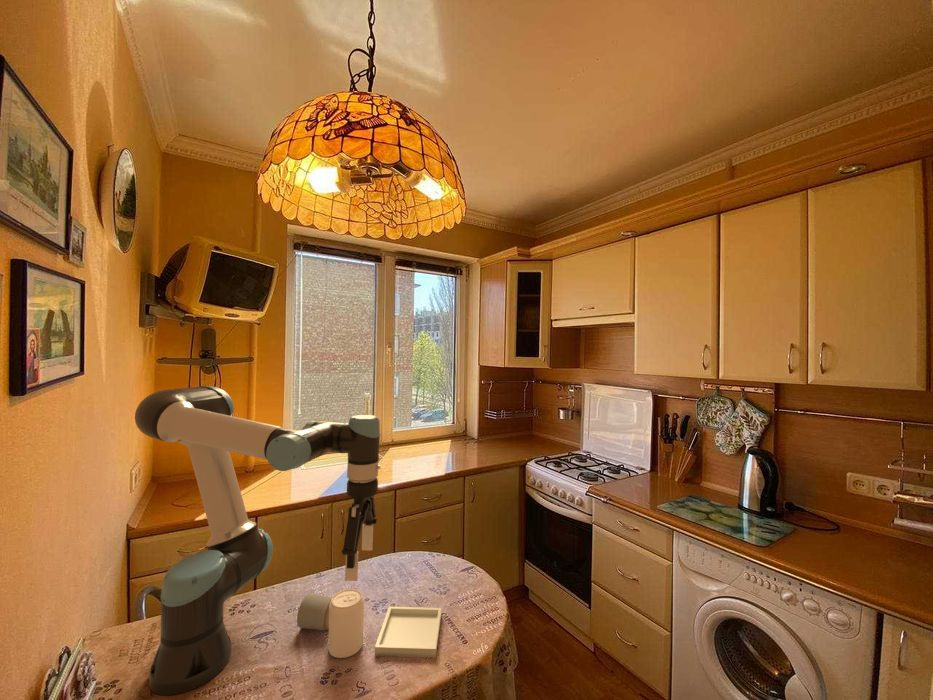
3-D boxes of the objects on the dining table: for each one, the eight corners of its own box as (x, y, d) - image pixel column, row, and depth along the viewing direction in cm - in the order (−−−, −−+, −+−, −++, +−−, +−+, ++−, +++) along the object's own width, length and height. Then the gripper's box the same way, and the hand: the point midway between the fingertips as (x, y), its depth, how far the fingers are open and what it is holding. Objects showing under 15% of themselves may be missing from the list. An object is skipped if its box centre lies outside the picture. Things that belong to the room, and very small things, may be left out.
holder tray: (374, 655, 90) (374, 647, 90) (388, 613, 104) (389, 606, 104) (435, 657, 89) (435, 648, 89) (441, 615, 104) (441, 608, 104)
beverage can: (326, 641, 94) (327, 593, 94) (359, 631, 97) (360, 584, 98) (330, 665, 87) (331, 612, 87) (366, 653, 90) (367, 602, 91)
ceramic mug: (326, 638, 95) (326, 606, 95) (295, 634, 96) (296, 604, 96) (344, 610, 105) (345, 582, 106) (316, 608, 106) (317, 580, 107)
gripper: (363, 497, 82) (360, 596, 81) (388, 464, 107) (385, 539, 106) (329, 496, 82) (325, 594, 81) (361, 463, 107) (359, 538, 106)
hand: (359, 563), depth 94 cm, fingers open, 13 cm apart
